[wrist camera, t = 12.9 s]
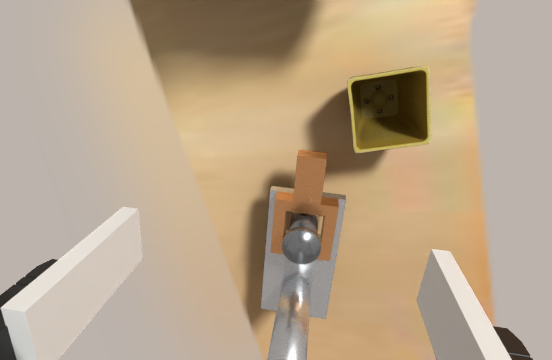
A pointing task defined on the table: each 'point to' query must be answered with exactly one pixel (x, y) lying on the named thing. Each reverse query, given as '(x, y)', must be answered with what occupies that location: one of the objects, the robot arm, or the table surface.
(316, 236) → the pin
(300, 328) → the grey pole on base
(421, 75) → the flower pot
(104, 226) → the robot arm
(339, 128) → the table surface
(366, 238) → the table surface
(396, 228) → the table surface
